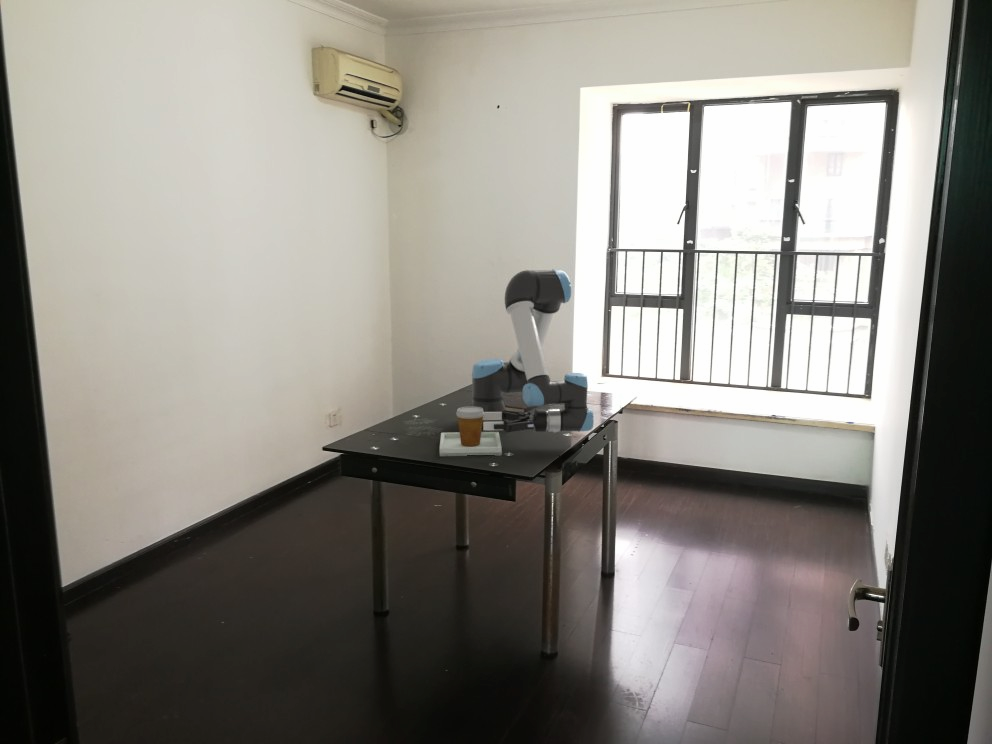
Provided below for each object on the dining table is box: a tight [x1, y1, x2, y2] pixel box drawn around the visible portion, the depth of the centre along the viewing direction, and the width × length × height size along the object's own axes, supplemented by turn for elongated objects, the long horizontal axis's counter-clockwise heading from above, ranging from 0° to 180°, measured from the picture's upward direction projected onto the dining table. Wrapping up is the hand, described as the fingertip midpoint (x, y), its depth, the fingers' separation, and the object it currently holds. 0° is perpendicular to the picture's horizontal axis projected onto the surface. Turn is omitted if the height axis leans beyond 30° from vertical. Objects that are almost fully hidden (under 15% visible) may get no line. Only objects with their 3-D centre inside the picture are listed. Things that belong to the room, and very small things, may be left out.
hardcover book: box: [503, 394, 538, 412], centre depth 314 cm, size 16×23×2 cm
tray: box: [439, 431, 503, 457], centre depth 252 cm, size 20×20×2 cm
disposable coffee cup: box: [455, 405, 485, 447], centre depth 251 cm, size 10×10×12 cm
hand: (482, 420), depth 250 cm, fingers open, 13 cm apart
